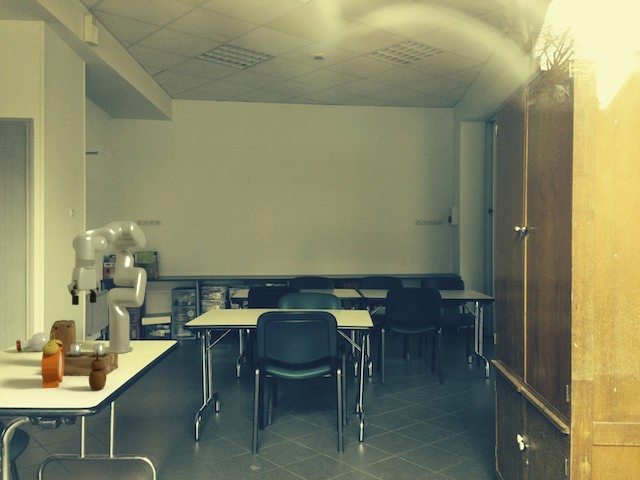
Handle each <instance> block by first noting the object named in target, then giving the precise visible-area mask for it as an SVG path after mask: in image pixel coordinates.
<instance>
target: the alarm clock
mask: <svg viewBox="0 0 640 480" xmlns="http://www.w3.org/2000/svg"><path fill="white" fill-rule="evenodd" d="M53 333H54V332H53ZM53 333H52V334H53ZM52 334H51V335H52ZM61 346H62V342H61V341H60V340H56V339H55V338H54V340H50V341H48V342H47V344H45V345H44V346H43V349H42V358H41V378H42V387H41V388H42V389H44V388H45V389H57V388H59V387H60V383H62V382H63V377H64V376H63V372H64V351H63V348H62V347H61ZM45 389H44V390H45Z"/></svg>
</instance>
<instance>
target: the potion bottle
mask: <svg viewBox="0 0 640 480" xmlns="http://www.w3.org/2000/svg"><path fill="white" fill-rule="evenodd" d="M48 341H50V335H48V334H47V333H46V332H37V333H34V334H33V335H32V337H31V338H30V339H25V338H21V339H20V340H19V339H17V340H16V341H15V345H16V351H17V352H18V353H20V352H23V353H24V352H25V351H26V350H28V349H32V350H33V351H34V352H37V353H38V352H39V353H43V351H42V349H43V346H44V345H45V344H47V342H48Z"/></svg>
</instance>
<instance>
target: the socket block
mask: <svg viewBox="0 0 640 480" xmlns="http://www.w3.org/2000/svg"><path fill="white" fill-rule="evenodd" d="M99 359H101V360H103V361H104V367H103V369H104V370H105V372H106V376H108V375H109V374H111V373H113V371H115V370H117V369H118V368H119V353H118V352H106V351H104V356H103V357H99ZM93 360H96V357H94V351H81V356H79V357H70V351H68V352H66V353H64V372H63V377H64V376H65V377H69V376H70V377H72V376H73V377H78V376H79V377H89V375H90V372H91V371H92V368H91V363H92V361H93Z"/></svg>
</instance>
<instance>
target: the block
mask: <svg viewBox="0 0 640 480" xmlns="http://www.w3.org/2000/svg"><path fill="white" fill-rule="evenodd" d="M76 326H77V325H76V321H75V320H74V319H70V320H67V319H61V320H55V321H54V322H53V323H52V325H51V328H50V333H49V337H50V340H54V338H55V339H56V340H60V341H61V342H62V346H61V347H62V348H63V351H64V353H66V352H68V351H70V344H72V343H77V339H76V338H77V331H76ZM53 332H54V333H53ZM52 333H53V334H52ZM51 334H52V335H51Z"/></svg>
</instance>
